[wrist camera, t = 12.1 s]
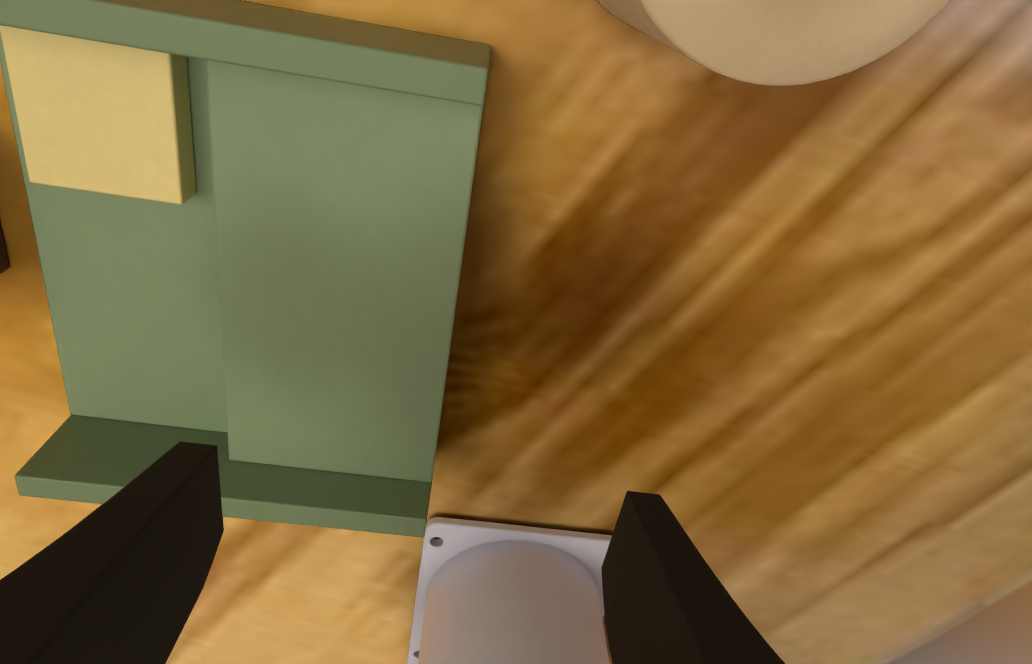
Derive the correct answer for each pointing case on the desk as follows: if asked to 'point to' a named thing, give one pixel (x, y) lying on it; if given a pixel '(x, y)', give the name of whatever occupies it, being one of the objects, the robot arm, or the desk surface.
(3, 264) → the holder
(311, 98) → the shelf
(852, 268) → the desk surface
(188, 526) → the robot arm
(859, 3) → the candle
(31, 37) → the note pad
